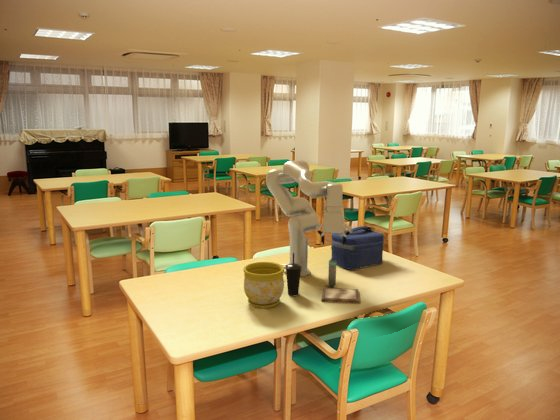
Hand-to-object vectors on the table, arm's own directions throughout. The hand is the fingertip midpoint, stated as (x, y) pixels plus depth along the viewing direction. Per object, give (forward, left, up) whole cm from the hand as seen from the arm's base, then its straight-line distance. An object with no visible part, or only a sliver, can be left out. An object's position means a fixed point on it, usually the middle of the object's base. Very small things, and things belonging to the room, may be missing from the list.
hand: (333, 244), depth 212 cm
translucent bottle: (0, 0, -22) cm, 22 cm away
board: (+4, -12, -22) cm, 25 cm away
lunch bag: (+14, +40, -22) cm, 48 cm away
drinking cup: (-18, -12, -22) cm, 31 cm away
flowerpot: (-30, -24, -22) cm, 44 cm away
